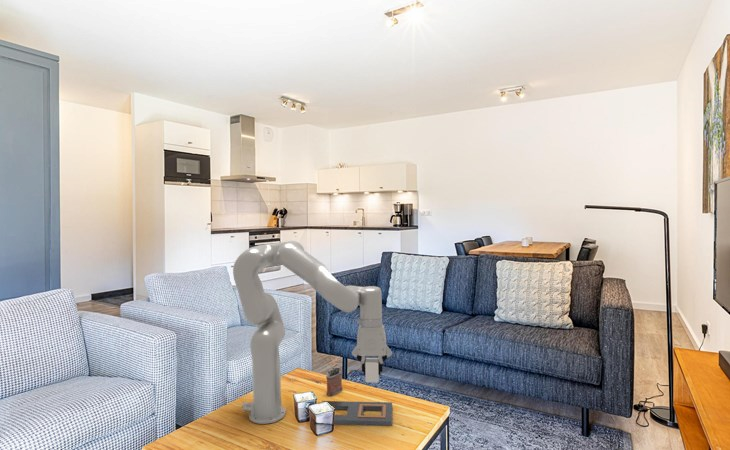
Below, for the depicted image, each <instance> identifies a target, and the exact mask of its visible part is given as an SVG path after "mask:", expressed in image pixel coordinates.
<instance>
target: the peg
mask: <svg viewBox="0 0 730 450" xmlns="http://www.w3.org/2000/svg"><path fill="white" fill-rule="evenodd" d="M365 360H366V361H365V375H364V377H365V383H375V384H376V383H380V382H379V381H380V375H379V371H378V363H379V358H378V357H365Z"/></svg>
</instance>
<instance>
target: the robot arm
mask: <svg viewBox="0 0 730 450" xmlns="http://www.w3.org/2000/svg"><path fill="white" fill-rule="evenodd" d="M276 266H277V267H278V266H283V267H285V268H286V269H288V270H289V271H290V272H292V274H294V275H295V276H297V277H299V278H300V279H302V280H303V281H304V282H306V284H308V285H310V286H311V288H312V289H314V291H316V293H317V294H318V295H320V296H321V297H322V298H323V299H324V300H326V301H327V302H328V303H330V304H331V305H332V306H334V307H335V308H337V309H339V310H340V311H341V312H344V313H351V312H354V311H356V310H357V308H360V311H359V312H360V317H359V318H356V323H357V324H359V325H358V328H357V338H356V346H355V347H354V348H353V350H352V351H351V356H353V357H354V358H356V359H357V360H358V361H359V362H360V363H361V372H362V373H363V376H365V361H366V358H367V357H377V358H379V363H378V371H379V376H381V374H382V373H383V363H384V362H385V361H386V360H387V359H388V358H390V357H391V356H393V352H392V350H391V349H390V348H389V347H390V346H388V344H387V337H386V329H385V326H384V324H383V305H382V304H383V303H382V302H383V301H382V299H383V298H382V297H383V296H382V294H383V293H382V289H381V287H379V286H374V285H371V286H370V285H368V286H357V285H344V284H343V283H342V282H340V281H338V280H337V279H336V277H334V276H333V275H332V274H331V273H330V271H329V270H328V268H327V267H326V265H325V264H324V263H322V262H321V261H320V260H318V259H317V258H316V257H314V256H313V255H311V254H310V253H308V251H306V250H305V248H304V245H302V244H301V243H300V242H298V241H295V240H289V241H288V240H287V241H282V242H275V243H274V242H273V243H265V244H260V245H256V246H251V247H249V248H248V249H245V250H244V251H243V252H242V253H240V255H239V256H238V257H236V260H235V262H234V264H233V268H232V275H233V280H234V284H235V286H236V289H237V293H238V297H239V300H240V301H239V302H240V303H241V306H242V310H243V314H244V318H245V319H246V321H247V322H248V323H249V324H251V325H254V326H257V330H255V332H254V333H253V335H252V336H251V340H250V343H249V344H250V354H251V363H252V364H251V365H252V390H253V391H252V392H253V393H252V395H253V396H252V397H253V399H252V401H251V402H242V405H241V408H242V410H243V412H248V411H249V413H248V418H249V421H250V422H253V423H254V424H258V425H259V424H260V425H265V424H273V423H276V422H278V421H280V420H282V419H283V418H284V417H285V416H286V411H287V410H286V408H285V407H284V406H283V405H282V388H281V387H282V385H281V384H282V383H281V381H282V378H281V357H280V346H281V345H280V344H281V343H282V342H283V340H284V338H285V334H286V333H285V332H286V330H285V325H284V323H283V319H282V315H281V312H280V309H279V306H278V303H277V301H276V299H275V298H274V296H272V294H269V293H267V292H265V290H264V287H263V283H262V280H261V279H260V277H259V272H260V271H261V270H263V269H266V268H268V267H269V268H270V267H276ZM358 306H359V307H358Z"/></svg>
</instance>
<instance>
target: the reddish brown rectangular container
mask: <svg viewBox="0 0 730 450" xmlns="http://www.w3.org/2000/svg"><path fill="white" fill-rule="evenodd" d="M342 375H343V371H342V370H340V366H338V365H337V366H333V367H332V368H331V369H328V370H327V374H326V376H325V378H326V396H327V397H333V396H335V395H336V396H337V394H340V393H341V392H342V391H343V387H342V385H343V384H342V378H343V377H342Z"/></svg>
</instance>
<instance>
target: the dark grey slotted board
mask: <svg viewBox="0 0 730 450" xmlns="http://www.w3.org/2000/svg"><path fill="white" fill-rule="evenodd" d="M322 402H328V403H329V404H330V405H331V406H333V407H334V408H335V410H334V411H347V412H346V414H333V415H334V424H333V425H337V426H338V425H340V426H341V425H343V426H374V427H375V426H385V427H393V402H390V401H389V402H388V401H387V402H385V401H384V402H383V401H341V400H339V401H337V400H336V401H335V400H322V401H321V403H322ZM364 412H381V413H380V415H369V414H368V415H365V414H364Z"/></svg>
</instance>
